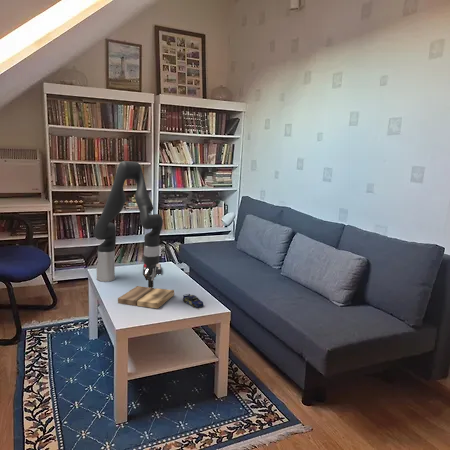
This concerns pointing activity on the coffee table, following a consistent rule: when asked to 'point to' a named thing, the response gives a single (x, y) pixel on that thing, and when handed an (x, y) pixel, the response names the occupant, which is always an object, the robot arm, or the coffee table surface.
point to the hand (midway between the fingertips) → (150, 287)
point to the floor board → (134, 295)
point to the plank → (155, 298)
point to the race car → (193, 301)
